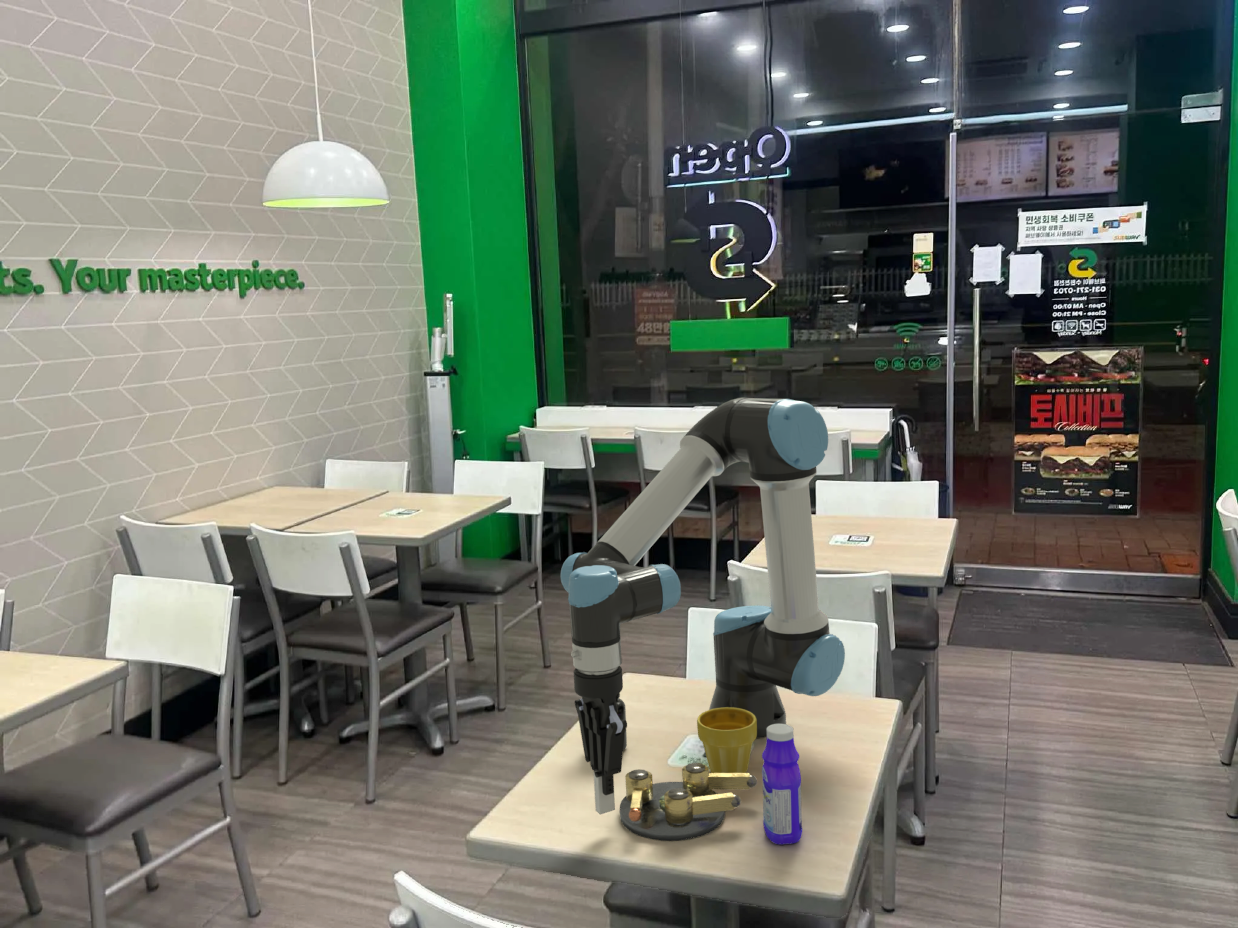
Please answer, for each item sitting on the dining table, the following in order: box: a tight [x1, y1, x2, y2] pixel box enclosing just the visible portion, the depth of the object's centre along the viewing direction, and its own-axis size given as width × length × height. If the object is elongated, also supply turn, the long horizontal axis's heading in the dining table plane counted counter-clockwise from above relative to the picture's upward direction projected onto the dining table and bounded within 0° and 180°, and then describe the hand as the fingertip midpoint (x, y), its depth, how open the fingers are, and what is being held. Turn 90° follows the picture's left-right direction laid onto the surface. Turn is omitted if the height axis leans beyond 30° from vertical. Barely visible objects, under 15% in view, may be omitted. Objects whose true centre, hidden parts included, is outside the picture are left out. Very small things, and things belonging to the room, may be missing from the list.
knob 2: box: [664, 788, 742, 824], centre depth 162 cm, size 12×4×4 cm, turn 99°
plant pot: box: [696, 707, 757, 773], centre depth 181 cm, size 10×10×10 cm
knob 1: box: [624, 768, 654, 822], centre depth 165 cm, size 12×4×4 cm, turn 175°
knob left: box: [681, 762, 758, 796], centre depth 170 cm, size 12×4×4 cm, turn 84°
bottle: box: [761, 723, 803, 845], centre depth 158 cm, size 7×6×17 cm
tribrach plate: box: [619, 781, 726, 842], centre depth 167 cm, size 17×17×3 cm
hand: (605, 810), depth 162 cm, fingers closed
